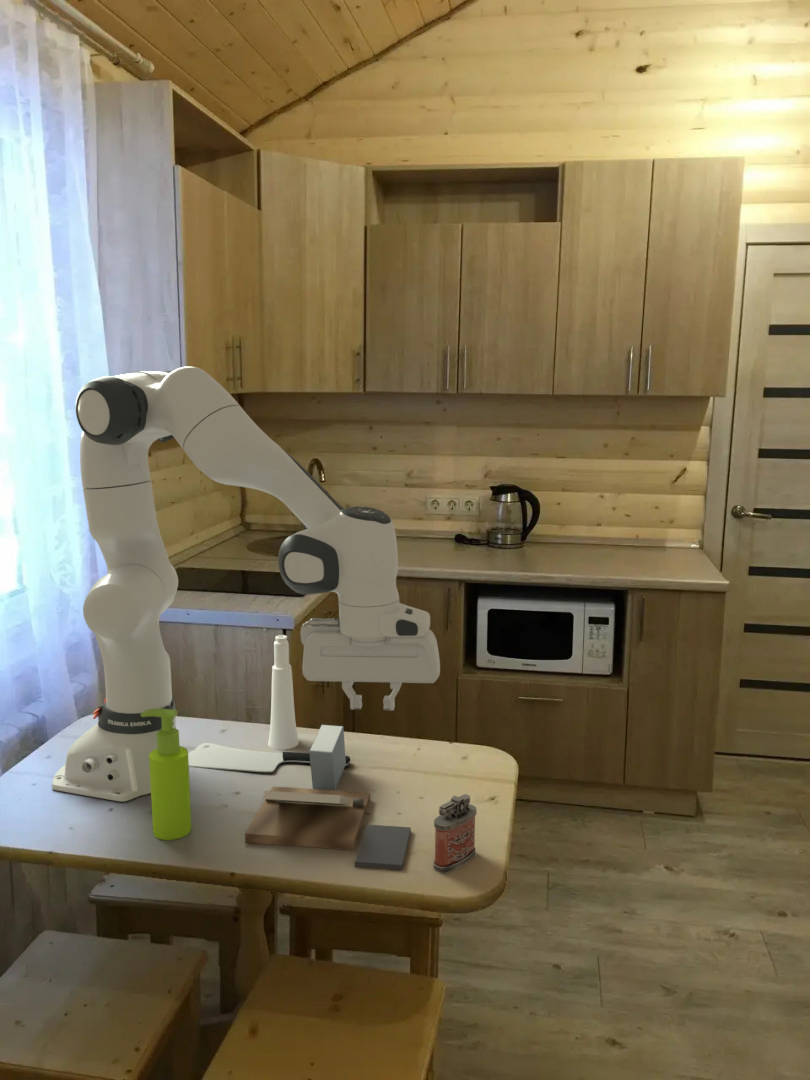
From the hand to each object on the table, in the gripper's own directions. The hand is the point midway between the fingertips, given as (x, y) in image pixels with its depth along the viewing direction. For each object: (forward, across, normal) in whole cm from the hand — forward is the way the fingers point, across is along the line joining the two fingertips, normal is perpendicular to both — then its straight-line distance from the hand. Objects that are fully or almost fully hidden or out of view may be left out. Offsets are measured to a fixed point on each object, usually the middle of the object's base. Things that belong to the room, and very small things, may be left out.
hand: (372, 708), depth 133 cm
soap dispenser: (+22, -34, +1) cm, 40 cm away
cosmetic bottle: (+22, -24, +35) cm, 48 cm away
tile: (+20, -12, +10) cm, 25 cm away
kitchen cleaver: (+21, -26, +21) cm, 39 cm away
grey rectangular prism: (+18, -12, +17) cm, 27 cm away
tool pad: (+22, +1, 0) cm, 23 cm away
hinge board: (+22, -12, +7) cm, 26 cm away
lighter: (+23, +12, -2) cm, 26 cm away
